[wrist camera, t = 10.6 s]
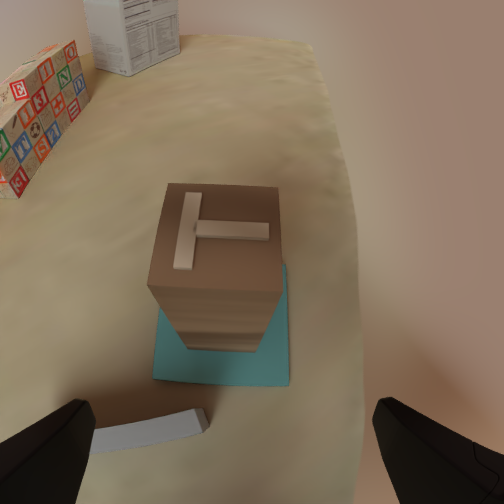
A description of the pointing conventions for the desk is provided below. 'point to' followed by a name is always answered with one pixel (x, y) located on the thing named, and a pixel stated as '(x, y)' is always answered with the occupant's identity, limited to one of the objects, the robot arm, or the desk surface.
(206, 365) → the mat
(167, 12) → the supplement box
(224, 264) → the letter block
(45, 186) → the desk surface
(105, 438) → the screen
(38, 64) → the stack of blocks
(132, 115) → the desk surface
